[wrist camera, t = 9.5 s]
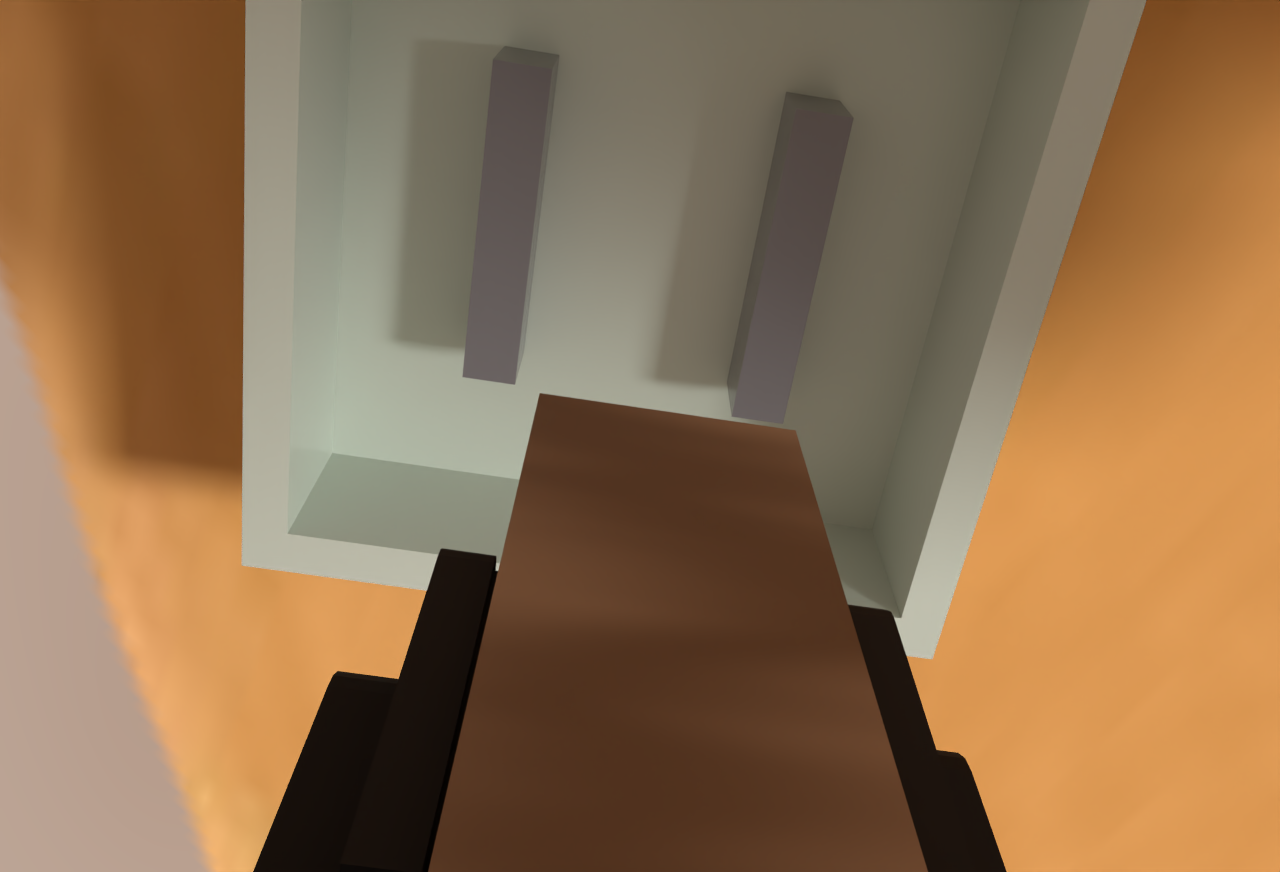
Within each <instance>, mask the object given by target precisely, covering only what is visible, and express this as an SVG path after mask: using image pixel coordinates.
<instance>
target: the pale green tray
mask: <svg viewBox="0 0 1280 872" xmlns="http://www.w3.org/2000/svg"><path fill="white" fill-rule="evenodd" d="M1145 4H1146V0H246V9H245V158H244V308H243V457H242V566H250V567H257V568H264V569H272V570H279V571H286V572H294V573H301V574H308V575H316V576H323V577H331V578H338V579H345V580H353V581H360V582H367V583H375V584H382V585H389V586H397V587H404V588H411V589H419V590H426V591H427V589H428V585H429V582H430V579H431V576H432V573H433V570H434V567H435V563H436V560H437V557H438V554H439V552H440V549H442V548H444V549H451V550H458V551H466V552H473V553H480V554H487V555H494V556H496V558H497V559H496V571H498V570H499V565H500V561H501V557H502V552H503V548H504V544H505V540H506V535H507V531H508V527H509V522H510V518H511V514H512V510H513V505H514V501H515V497H516V492H517V488H518V484H519V479H520V475H521V471H522V467H523V462H524V458H525V454H526V449H527V445H528V441H529V437H530V432H531V428H532V424H533V419H534V415H535V411H536V407H537V402H538V398H539V394H540V393H544V394H550V395H557V396H564V397H571V398H578V399H585V400H591V401H598V402H605V403H612V404H619V405H626V406H632V407H639V408H646V409H653V410H660V411H667V412H673V413H680V414H687V415H694V416H701V417H708V418H714V419H721V420H728V421H735V422H742V423H749V424H755V425H762V426H769V427H776V428H783V429H790V430H796V433H797V437H798V440H799V443H800V447H801V450H802V453H803V457H804V460H805V463H806V467H807V470H808V473H809V477H810V480H811V483H812V487H813V490H814V493H815V497H816V500H817V503H818V507H819V510H820V513H821V517H822V520H823V523H824V527H825V530H826V533H827V537H828V540H829V543H830V547H831V550H832V553H833V557H834V560H835V563H836V567H837V570H838V573H839V577H840V580H841V583H842V587H843V590H844V593H845V597H846V600H847V603H848V604H849V605H856V606H863V607H870V608H878V609H885V610H889V611H891V612H892V614H893V616H894V619H895V622H896V625H897V628H898V631H899V634H900V638H901V641H902V644H903V647H904V650H905V653H906V656H912V657H919V658H927V659H933V656H934V652H935V649H936V646H937V643H938V640H939V637H940V634H941V631H942V628H943V625H944V622H945V619H946V616H947V613H948V609H949V606H950V603H951V600H952V597H953V594H954V591H955V588H956V585H957V582H958V579H959V576H960V573H961V569H962V566H963V563H964V560H965V557H966V554H967V551H968V548H969V545H970V542H971V539H972V536H973V533H974V529H975V526H976V523H977V520H978V517H979V514H980V511H981V508H982V505H983V502H984V499H985V496H986V493H987V489H988V486H989V483H990V480H991V477H992V474H993V471H994V468H995V465H996V462H997V459H998V456H999V453H1000V450H1001V446H1002V443H1003V440H1004V437H1005V434H1006V431H1007V428H1008V425H1009V422H1010V419H1011V416H1012V413H1013V410H1014V406H1015V403H1016V400H1017V397H1018V394H1019V391H1020V388H1021V385H1022V382H1023V379H1024V376H1025V373H1026V370H1027V366H1028V363H1029V360H1030V357H1031V354H1032V351H1033V348H1034V345H1035V342H1036V339H1037V336H1038V333H1039V330H1040V326H1041V323H1042V320H1043V317H1044V314H1045V311H1046V308H1047V305H1048V302H1049V299H1050V296H1051V293H1052V290H1053V287H1054V283H1055V280H1056V277H1057V274H1058V271H1059V268H1060V265H1061V262H1062V259H1063V256H1064V253H1065V250H1066V247H1067V243H1068V240H1069V237H1070V234H1071V231H1072V228H1073V225H1074V222H1075V219H1076V216H1077V213H1078V210H1079V207H1080V203H1081V200H1082V197H1083V194H1084V191H1085V188H1086V185H1087V182H1088V179H1089V176H1090V173H1091V170H1092V167H1093V163H1094V160H1095V157H1096V154H1097V151H1098V148H1099V145H1100V142H1101V139H1102V136H1103V133H1104V130H1105V127H1106V124H1107V120H1108V117H1109V114H1110V111H1111V108H1112V105H1113V102H1114V99H1115V96H1116V93H1117V90H1118V87H1119V84H1120V80H1121V77H1122V74H1123V71H1124V68H1125V65H1126V62H1127V59H1128V56H1129V53H1130V50H1131V47H1132V44H1133V40H1134V37H1135V34H1136V31H1137V28H1138V25H1139V22H1140V19H1141V16H1142V13H1143V10H1144V7H1145Z"/></svg>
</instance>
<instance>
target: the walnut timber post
mask: <svg viewBox="0 0 1280 872" xmlns="http://www.w3.org/2000/svg"><path fill="white" fill-rule="evenodd" d="M428 872H928V870H927V867H926V864H925V860H924V857H923V854H922V850H921V847H920V844H919V840H918V837H917V834H916V830H915V827H914V824H913V820H912V817H911V814H910V810H909V807H908V804H907V800H906V797H905V794H904V790H903V787H902V784H901V780H900V777H899V774H898V770H897V767H896V764H895V760H894V757H893V754H892V750H891V747H890V744H889V740H888V737H887V734H886V730H885V727H884V724H883V720H882V717H881V714H880V710H879V707H878V704H877V700H876V697H875V694H874V690H873V687H872V684H871V680H870V677H869V674H868V670H867V667H866V664H865V660H864V657H863V653H862V650H861V647H860V643H859V640H858V637H857V633H856V630H855V627H854V623H853V620H852V617H851V613H850V610H849V607H848V603H847V600H846V597H845V593H844V590H843V587H842V583H841V580H840V577H839V573H838V570H837V567H836V563H835V560H834V557H833V553H832V550H831V547H830V543H829V540H828V537H827V533H826V530H825V527H824V523H823V520H822V517H821V513H820V510H819V507H818V503H817V500H816V497H815V493H814V490H813V487H812V483H811V480H810V477H809V473H808V470H807V467H806V463H805V460H804V457H803V453H802V450H801V447H800V443H799V440H798V437H797V433H796V430H790V429H783V428H776V427H769V426H762V425H755V424H749V423H742V422H735V421H728V420H721V419H714V418H708V417H701V416H694V415H687V414H680V413H673V412H667V411H660V410H653V409H646V408H639V407H632V406H626V405H619V404H612V403H605V402H598V401H591V400H585V399H578V398H571V397H564V396H557V395H550V394H544V393H540V394H539V398H538V402H537V407H536V411H535V415H534V419H533V424H532V428H531V432H530V437H529V441H528V445H527V449H526V454H525V458H524V462H523V467H522V471H521V475H520V479H519V484H518V488H517V492H516V497H515V501H514V505H513V510H512V514H511V518H510V522H509V527H508V531H507V535H506V540H505V544H504V548H503V552H502V557H501V561H500V565H499V570H498V574H497V578H496V582H495V587H494V591H493V595H492V600H491V604H490V608H489V612H488V617H487V621H486V625H485V630H484V634H483V638H482V643H481V647H480V651H479V655H478V660H477V664H476V668H475V673H474V677H473V681H472V685H471V690H470V694H469V698H468V703H467V707H466V711H465V715H464V720H463V724H462V728H461V733H460V737H459V741H458V746H457V750H456V754H455V758H454V763H453V767H452V771H451V776H450V780H449V784H448V788H447V793H446V797H445V801H444V806H443V810H442V814H441V818H440V823H439V827H438V831H437V836H436V840H435V844H434V849H433V853H432V857H431V861H430V866H429V870H428Z"/></svg>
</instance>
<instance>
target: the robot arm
mask: <svg viewBox="0 0 1280 872" xmlns="http://www.w3.org/2000/svg"><path fill="white" fill-rule="evenodd" d="M496 559H497V558H496V556H494V555H487V554H480V553H473V552H466V551H458V550H451V549H444V548H442V549H440V552H439V554H438V557H437V560H436V563H435V567H434V570H433V573H432V576H431V579H430V582H429V585H428V589H427V592H426V595H425V598H424V601H423V604H422V607H421V611H420V614H419V617H418V620H417V623H416V626H415V629H414V633H413V636H412V639H411V642H410V645H409V648H408V651H407V655H406V658H405V661H404V664H403V667H402V670H401V673H400V677H399V679H393V678H386V677H378V676H371V675H363V674H355V673H348V672H340V671H337V672H336V673H335V674H334V675H333V677H332V679H331V681H330V683H329V685H328V687H327V690H326V692H325V695H324V697H323V700H322V702H321V705H320V707H319V710H318V712H317V715H316V717H315V720H314V722H313V725H312V727H311V729H310V732H309V734H308V737H307V739H306V742H305V744H304V747H303V749H302V752H301V754H300V757H299V759H298V762H297V764H296V767H295V769H294V772H293V774H292V777H291V779H290V782H289V784H288V787H287V789H286V792H285V794H284V797H283V799H282V802H281V804H280V807H279V809H278V812H277V814H276V817H275V819H274V821H273V824H272V826H271V829H270V831H269V834H268V836H267V839H266V841H265V844H264V846H263V849H262V851H261V854H260V856H259V859H258V861H257V864H256V866H255V869H254V871H253V872H428V870H429V866H430V861H431V857H432V853H433V849H434V844H435V840H436V836H437V831H438V827H439V823H440V818H441V814H442V810H443V806H444V801H445V797H446V793H447V788H448V784H449V780H450V776H451V771H452V767H453V763H454V758H455V754H456V750H457V746H458V741H459V737H460V733H461V728H462V724H463V720H464V715H465V711H466V707H467V703H468V698H469V694H470V690H471V685H472V681H473V677H474V673H475V668H476V664H477V660H478V655H479V651H480V647H481V643H482V638H483V634H484V630H485V625H486V621H487V617H488V612H489V608H490V604H491V600H492V595H493V591H494V587H495V582H496V578H497V574H498V571H496ZM848 607H849V610H850V613H851V617H852V620H853V623H854V627H855V630H856V633H857V637H858V640H859V643H860V647H861V650H862V653H863V657H864V660H865V664H866V667H867V670H868V674H869V677H870V680H871V684H872V687H873V690H874V694H875V697H876V700H877V704H878V707H879V710H880V714H881V717H882V720H883V724H884V727H885V730H886V734H887V737H888V740H889V744H890V747H891V750H892V754H893V757H894V760H895V764H896V767H897V770H898V774H899V777H900V780H901V784H902V787H903V790H904V794H905V797H906V800H907V804H908V807H909V810H910V814H911V817H912V820H913V824H914V827H915V830H916V834H917V837H918V840H919V844H920V847H921V850H922V854H923V857H924V860H925V864H926V867H927V870H928V872H1006V869H1005V866H1004V863H1003V860H1002V857H1001V855H1000V852H999V849H998V846H997V843H996V840H995V837H994V835H993V832H992V829H991V826H990V823H989V820H988V817H987V815H986V812H985V809H984V806H983V803H982V800H981V797H980V795H979V792H978V789H977V786H976V783H975V780H974V777H973V775H972V772H971V769H970V767H969V765H968V763H967V761H966V759H965V758H964V757H963V756H961V755H960V754H959V753H955V752H947V751H940V750H936V747H935V744H934V741H933V738H932V735H931V732H930V729H929V725H928V722H927V719H926V716H925V713H924V710H923V707H922V703H921V700H920V697H919V694H918V691H917V688H916V685H915V682H914V678H913V675H912V672H911V669H910V666H909V663H908V660H907V656H906V653H905V650H904V647H903V644H902V641H901V638H900V634H899V631H898V628H897V625H896V622H895V619H894V616H893V614H892V612H891V611H889V610H885V609H878V608H870V607H863V606H856V605H849V604H848Z"/></svg>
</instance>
